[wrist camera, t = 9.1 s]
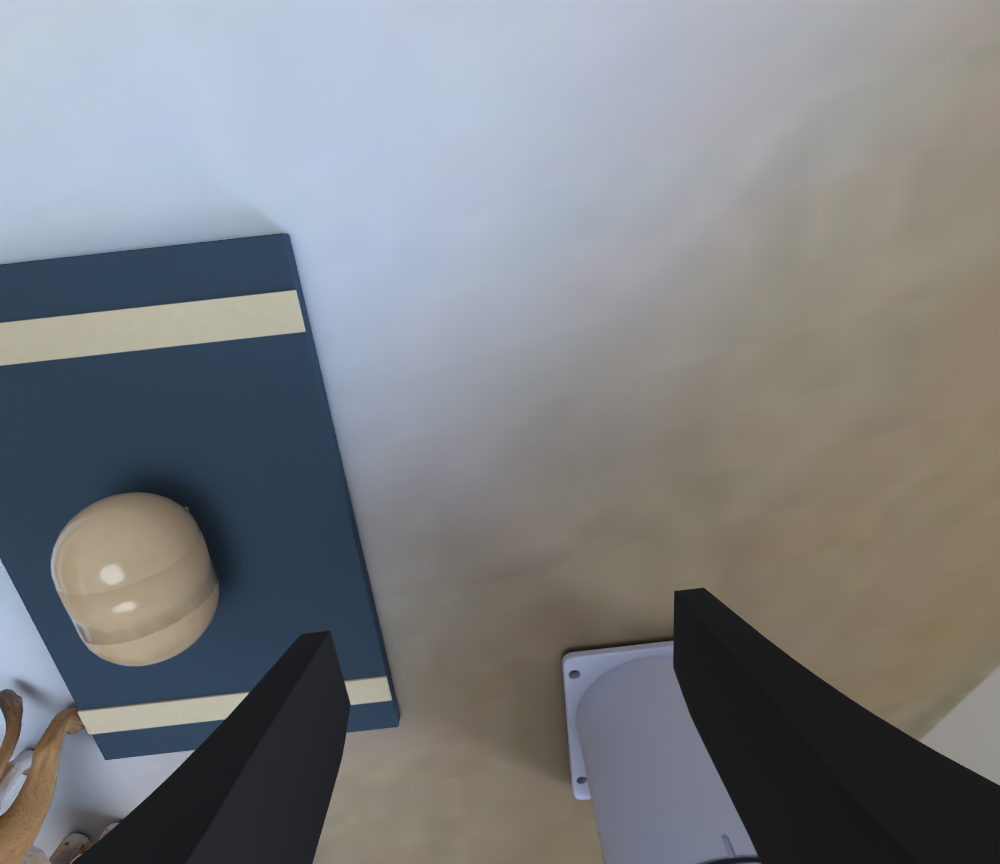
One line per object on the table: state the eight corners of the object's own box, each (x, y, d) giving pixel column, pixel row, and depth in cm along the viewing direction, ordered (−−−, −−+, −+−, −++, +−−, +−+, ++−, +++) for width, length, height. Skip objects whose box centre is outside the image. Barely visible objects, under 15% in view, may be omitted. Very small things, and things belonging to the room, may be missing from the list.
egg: (252, 603, 22) (199, 688, 18) (148, 615, 22) (71, 702, 18) (206, 465, 20) (134, 525, 16) (89, 478, 20) (-14, 541, 15)
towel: (400, 716, 25) (398, 729, 25) (113, 748, 25) (103, 762, 24) (289, 233, 17) (281, 233, 17) (-126, 279, 17) (-149, 280, 17)
